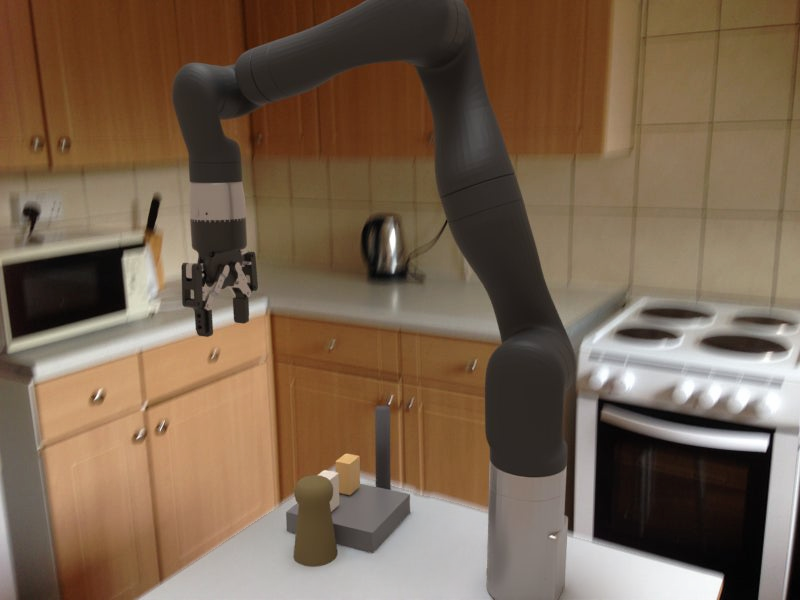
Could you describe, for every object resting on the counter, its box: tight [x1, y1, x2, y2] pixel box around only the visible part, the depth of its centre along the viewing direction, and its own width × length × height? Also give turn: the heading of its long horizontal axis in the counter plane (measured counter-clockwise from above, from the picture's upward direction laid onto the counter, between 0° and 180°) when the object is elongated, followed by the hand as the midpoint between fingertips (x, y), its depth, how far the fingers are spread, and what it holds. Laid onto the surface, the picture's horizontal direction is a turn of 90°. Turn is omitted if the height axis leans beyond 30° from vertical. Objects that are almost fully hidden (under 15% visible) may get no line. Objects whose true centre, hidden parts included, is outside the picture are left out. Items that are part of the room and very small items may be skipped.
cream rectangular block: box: [317, 469, 339, 512], centre depth 105 cm, size 2×3×5 cm
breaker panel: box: [285, 483, 411, 554], centre depth 108 cm, size 14×12×3 cm
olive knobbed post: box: [292, 474, 338, 567], centre depth 99 cm, size 6×6×11 cm
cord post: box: [374, 405, 392, 490], centre depth 117 cm, size 2×2×14 cm
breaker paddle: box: [335, 453, 361, 495], centre depth 111 cm, size 2×3×5 cm
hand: (224, 329), depth 104 cm, fingers open, 8 cm apart
